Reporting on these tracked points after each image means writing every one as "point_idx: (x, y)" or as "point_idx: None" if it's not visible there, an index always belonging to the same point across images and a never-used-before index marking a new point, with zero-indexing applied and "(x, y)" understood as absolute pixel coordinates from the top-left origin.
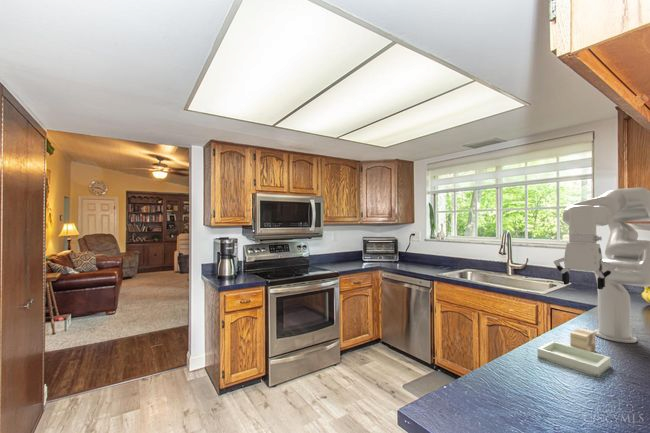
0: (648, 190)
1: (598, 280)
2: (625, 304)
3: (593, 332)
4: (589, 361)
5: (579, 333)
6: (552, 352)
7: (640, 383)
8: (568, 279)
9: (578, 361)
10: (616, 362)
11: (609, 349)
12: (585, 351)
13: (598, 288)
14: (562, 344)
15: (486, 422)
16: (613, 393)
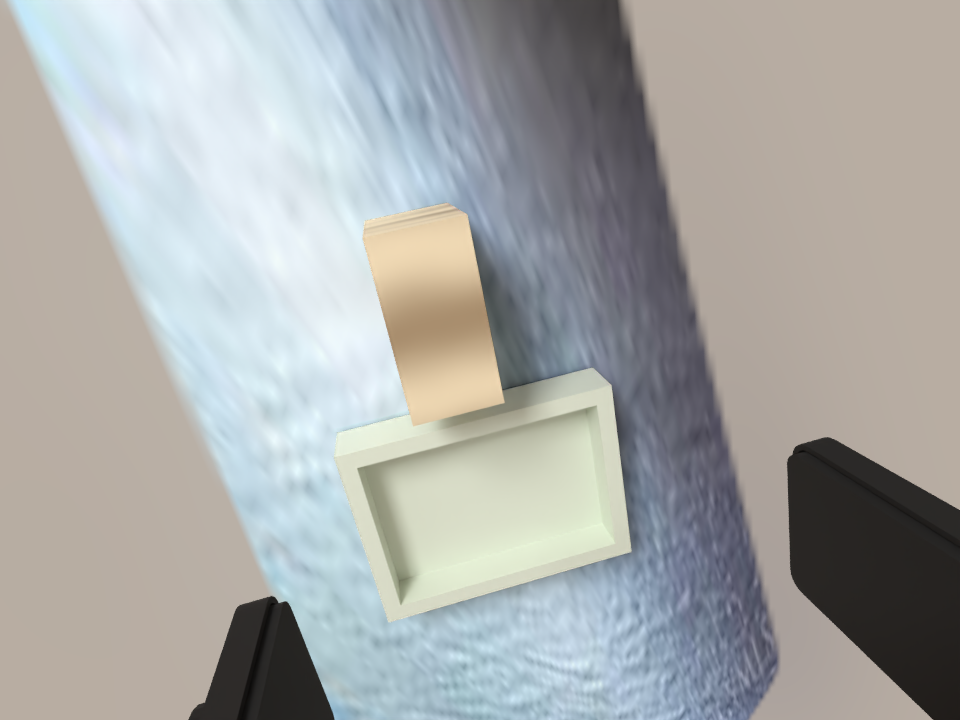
0: None
1: (947, 714)
2: None
3: (474, 252)
4: (537, 439)
5: (446, 378)
6: (452, 596)
7: (710, 416)
8: (283, 714)
9: (562, 571)
10: (578, 271)
11: (464, 66)
12: (512, 426)
13: (811, 588)
14: (398, 452)
15: None
16: (684, 581)
